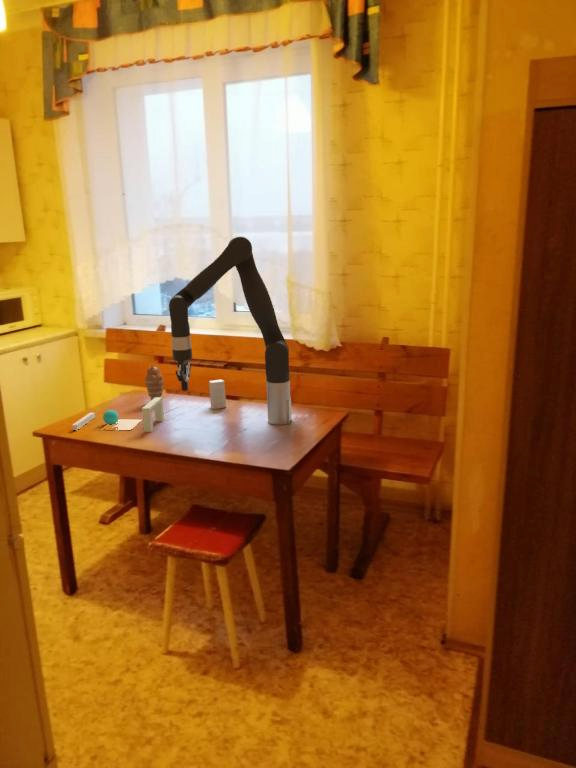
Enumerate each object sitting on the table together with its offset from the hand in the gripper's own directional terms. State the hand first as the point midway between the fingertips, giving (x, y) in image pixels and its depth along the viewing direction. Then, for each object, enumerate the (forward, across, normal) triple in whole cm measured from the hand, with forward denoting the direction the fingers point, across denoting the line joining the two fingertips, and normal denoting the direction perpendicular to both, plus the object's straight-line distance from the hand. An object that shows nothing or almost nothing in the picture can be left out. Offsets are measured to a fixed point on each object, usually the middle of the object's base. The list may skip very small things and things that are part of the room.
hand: (185, 390), depth 236 cm
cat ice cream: (+15, +30, +24) cm, 41 cm away
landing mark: (+15, 0, +28) cm, 32 cm away
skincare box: (+15, +26, -6) cm, 31 cm away
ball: (+12, +1, +32) cm, 35 cm away
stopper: (+15, 0, +44) cm, 46 cm away
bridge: (+15, 0, +14) cm, 21 cm away
